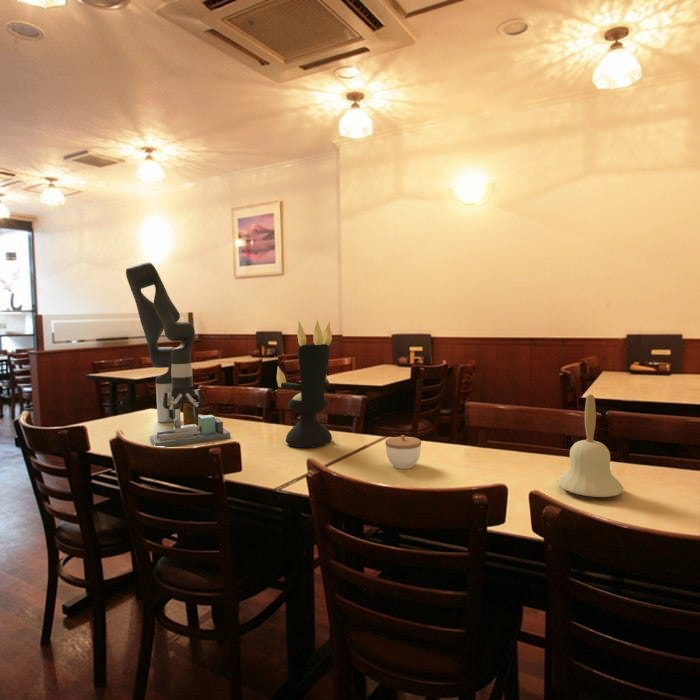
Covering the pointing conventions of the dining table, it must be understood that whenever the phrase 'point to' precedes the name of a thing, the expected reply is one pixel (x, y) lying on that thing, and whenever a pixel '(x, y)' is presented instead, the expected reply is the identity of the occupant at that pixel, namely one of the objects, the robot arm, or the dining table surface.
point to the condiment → (189, 414)
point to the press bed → (188, 436)
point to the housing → (207, 424)
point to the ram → (177, 422)
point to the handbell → (590, 463)
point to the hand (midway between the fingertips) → (183, 417)
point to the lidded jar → (403, 451)
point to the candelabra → (309, 389)
